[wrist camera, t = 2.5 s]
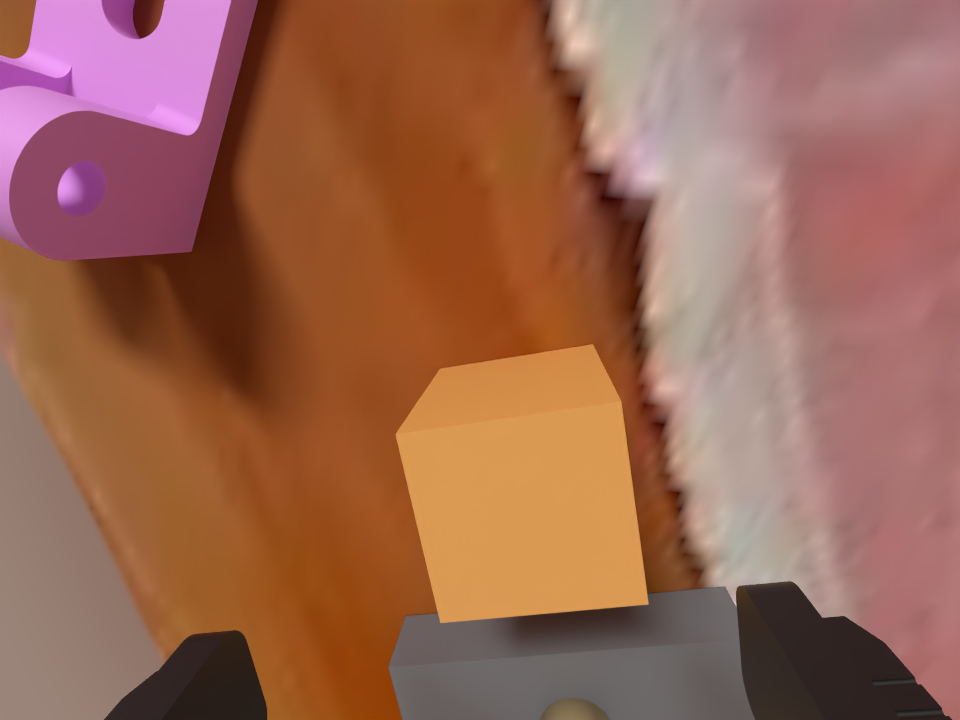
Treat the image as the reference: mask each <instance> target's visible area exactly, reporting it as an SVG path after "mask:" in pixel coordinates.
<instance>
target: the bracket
mask: <svg viewBox="0 0 960 720" xmlns="http://www.w3.org/2000/svg"><path fill="white" fill-rule="evenodd" d="M257 2H258V0H165V2H164V7H163V11H162V16H161V20H160V22H159V24H158V26H157V28H156V29H155V30H154V32H153V33H151V34H150V35H149V36H147V37H145V38H142V39H140V38H139V36H138V34H137V32H136V30H135V27H134V23H133V8H134V3H135V0H37V2H36V8H35V14H34V20H33V26H32V33H31V39H30V45H29V48H28V51H27V52H26V54H25V55H23V56H22V57H20V58H17V59H11V58H7V57H4V56H1V55H0V237H1V238H3V239H5V240H8V241H10V242H12V243H14V244H17V245H19V246H21V247H24V248H26V249H28V250H30V251H33V252H35V253H37V254H40V255H42V256H44V257H47V258H50V259H54V260H62V261H68V260H83V259H98V258H112V257H127V256H141V255H156V254H170V253H185V252H192V248H193V244H194V241H195V237H196V233H197V229H198V226H199V222H200V218H201V214H202V210H203V207H204V203H205V199H206V195H207V192H208V188H209V184H210V180H211V176H212V173H213V169H214V165H215V161H216V157H217V154H218V150H219V146H220V142H221V139H222V135H223V131H224V127H225V123H226V120H227V116H228V112H229V108H230V105H231V101H232V97H233V93H234V89H235V86H236V82H237V78H238V74H239V71H240V67H241V63H242V59H243V55H244V52H245V48H246V44H247V40H248V37H249V33H250V29H251V25H252V21H253V18H254V14H255V10H256V6H257Z"/></svg>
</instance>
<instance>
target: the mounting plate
mask: <svg viewBox="0 0 960 720" xmlns="http://www.w3.org/2000/svg"><path fill="white" fill-rule="evenodd" d="M647 595H648V603H649V604H648V605H637V606H626V607H615V608H603V609H592V610H581V611H570V612H559V613H548V614H537V615H526V616H514V617H503V618H492V619H481V620H470V621H459V622H448V623H440V619H439V615H438V613H435V614H424V615H414V616H406V617H405V620H404V623H403V626H402V629H401V632H400V635H399V638H398V640H397V643H396V646H395V649H394V652H393V655H392V658H391V661H390V664H389V671H390V675H391V678H392V682H393V686H394V690H395V693H396V697H397V701H398V704H399V708H400V712H401V716H402V719H403V720H755V718H754V716H753V713H752V710H751V707H750V704H749V701H748V698H747V694H746V691H745V686H744V682H743V676H742V668H741V655H740V642H739V629H738V616H737V608H736V606H735V604H734V602H733V600H732V599H731V597H730V595H729V593H728V591H727V589H726V587H716V588H705V589H694V590H683V591H672V592H662V593H651V594H647Z"/></svg>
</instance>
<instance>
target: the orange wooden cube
mask: <svg viewBox="0 0 960 720" xmlns="http://www.w3.org/2000/svg"><path fill="white" fill-rule="evenodd" d="M396 438H397V442H398V447H399V451H400V455H401V459H402V463H403V468H404V472H405V476H406V480H407V484H408V489H409V493H410V497H411V501H412V506H413V510H414V514H415V518H416V522H417V527H418V531H419V535H420V539H421V544H422V548H423V552H424V556H425V560H426V565H427V569H428V573H429V577H430V581H431V586H432V590H433V594H434V598H435V603H436V607H437V611H438V615H439V619H440V623H448V622H459V621H470V620H481V619H492V618H503V617H514V616H526V615H537V614H548V613H559V612H570V611H581V610H592V609H603V608H615V607H626V606H637V605H648V604H649V603H648V595H647V588H646V581H645V573H644V566H643V559H642V551H641V544H640V536H639V529H638V522H637V514H636V507H635V499H634V492H633V485H632V477H631V470H630V463H629V455H628V448H627V440H626V433H625V426H624V418H623V411H622V403H621V400H620V398H619V396H618V394H617V392H616V390H615V388H614V386H613V384H612V382H611V380H610V378H609V376H608V374H607V372H606V370H605V368H604V366H603V364H602V362H601V360H600V358H599V356H598V354H597V352H596V350H595V348H594V346H593V344H592V345H585V346H579V347H573V348H567V349H560V350H554V351H548V352H542V353H535V354H529V355H523V356H517V357H510V358H504V359H498V360H492V361H485V362H479V363H473V364H467V365H460V366H454V367H448V368H442V369H440V370H439V371H438V373H437V374H436V376H435V377H434V378H433V380H432V381H431V383H430V384H429V386H428V387H427V389H426V390H425V392H424V393H423V395H422V396H421V398H420V399H419V400H418V402H417V403H416V405H415V406H414V408H413V409H412V411H411V412H410V414H409V415H408V417H407V418H406V420H405V421H404V422H403V424H402V425H401V427H400V428H399V430H398V431H397V433H396Z"/></svg>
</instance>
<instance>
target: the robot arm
mask: <svg viewBox="0 0 960 720" xmlns="http://www.w3.org/2000/svg"><path fill="white" fill-rule="evenodd" d="M736 603H737V616H738V629H739V642H740V655H741V668H742V676H743V682H744V686H745V691H746V694H747V698H748V701H749V704H750V707H751V710H752V713H753V716H754V718H755V720H952V719H951V718H950V717H949V716H945V715H944V713H943V711H942V708H941V707H940V705H939V704H938V703H937V702H936V701H935V700H934V699H933V697H932V696H931V695H930V694H929V693H928V692H927V691H926V689H925V688H924V687H923V686H922V685H918V684H917V682H916V680H915V677H914V676H913V675H912V673H911V672H910V671H909V670H908V669H907V668H906V667H905V666H904V664H903V663H902V662H901V661H900V660H899V659H898V658H897V656H896V655H895V654H894V653H893V652H892V651H891V650H890V648H889V647H888V646H887V645H886V644H885V643H884V642H883V641H881V640H880V639H878V638H877V637H875V636H874V635H872V634H870V633H869V632H867V631H866V630H864V629H863V628H861V627H860V626H858V625H857V624H855V623H854V622H852V621H851V620H849V619H848V618H846V617H845V616H840V617H828V618H822V617H821V615H820V614H819V613H818V612H817V610H816V609H815V608H814V606H813V605H812V604H811V602H810V601H809V600H808V599H807V597H806V596H805V595H804V593H803V592H802V591H801V590H800V588H799V587H798V586H797V585H796V584H795V583H793V582H778V583H767V584H756V585H745V586H739V587H738V588H737V591H736ZM104 720H267V707H266V702H265V699H264V696H263V692H262V689H261V686H260V683H259V679H258V676H257V673H256V670H255V667H254V663H253V660H252V657H251V654H250V651H249V647H248V644H247V641H246V639H245V637H244V635H243V634H242V633H241V632H239V631H236V630H234V631H223V632H212V633H201V634H193V635H191V636H189V637H188V638H186V639H185V640H184V641H183V642H182V643H181V645H180V646H179V647H178V648H177V649H176V651H175V652H174V653H173V654H172V655H171V656H170V658H169V659H168V660H167V661H166V662H165V664H164V665H163V666H162V667H161V669H160V670H159V671H157V672H155V673H154V674H153V675H151V676H150V677H149V678H148V679H146V680H145V681H144V682H143V683H142V684H140V685H139V686H138V687H136V688H135V689H134V690H133V691H131V692H130V693H129V694H128V695H126V696H125V697H124V698H123V699H122V700H121V701H120V702H119V703H118V704H117V705H116V706H115V708H114V709H113V710H112V711H111V712H110V713H109V714H108V716H107V717H106V718H105V719H104Z"/></svg>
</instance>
